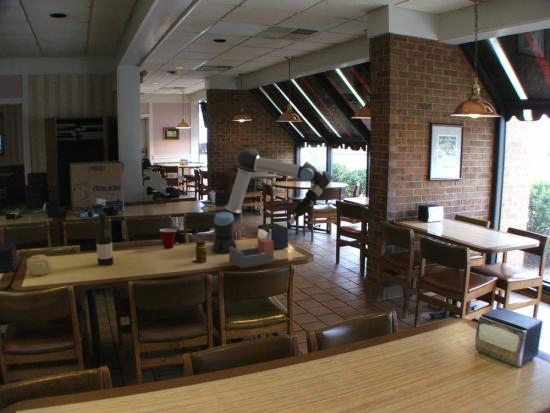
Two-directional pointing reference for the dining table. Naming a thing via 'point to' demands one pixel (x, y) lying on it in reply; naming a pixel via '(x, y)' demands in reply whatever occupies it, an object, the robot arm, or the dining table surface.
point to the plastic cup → (168, 237)
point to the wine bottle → (104, 243)
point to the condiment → (200, 253)
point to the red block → (266, 246)
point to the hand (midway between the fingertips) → (290, 223)
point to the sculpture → (38, 265)
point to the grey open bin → (249, 257)
